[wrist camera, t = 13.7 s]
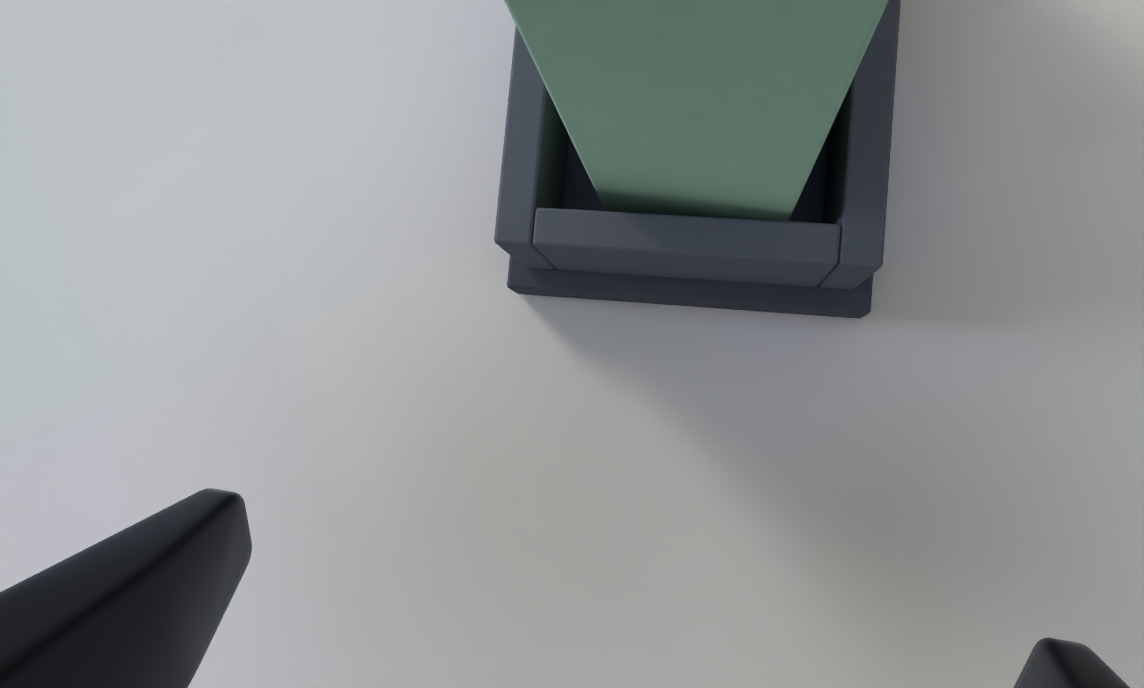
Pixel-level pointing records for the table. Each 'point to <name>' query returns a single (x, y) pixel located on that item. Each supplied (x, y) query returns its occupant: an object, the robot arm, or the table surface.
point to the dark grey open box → (693, 243)
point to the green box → (698, 95)
